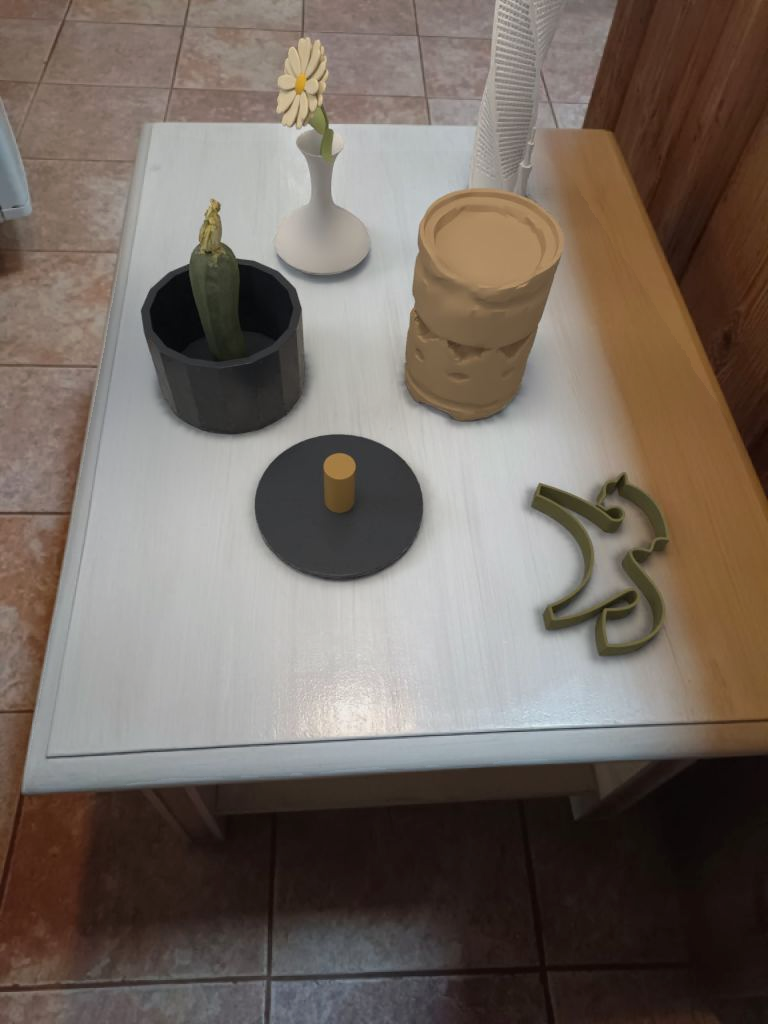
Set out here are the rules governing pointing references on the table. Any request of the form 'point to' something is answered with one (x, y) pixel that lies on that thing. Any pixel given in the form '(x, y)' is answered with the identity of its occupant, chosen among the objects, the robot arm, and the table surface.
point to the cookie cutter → (608, 521)
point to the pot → (233, 383)
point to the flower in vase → (315, 174)
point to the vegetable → (217, 289)
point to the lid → (338, 506)
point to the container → (478, 299)
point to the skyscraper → (512, 93)
